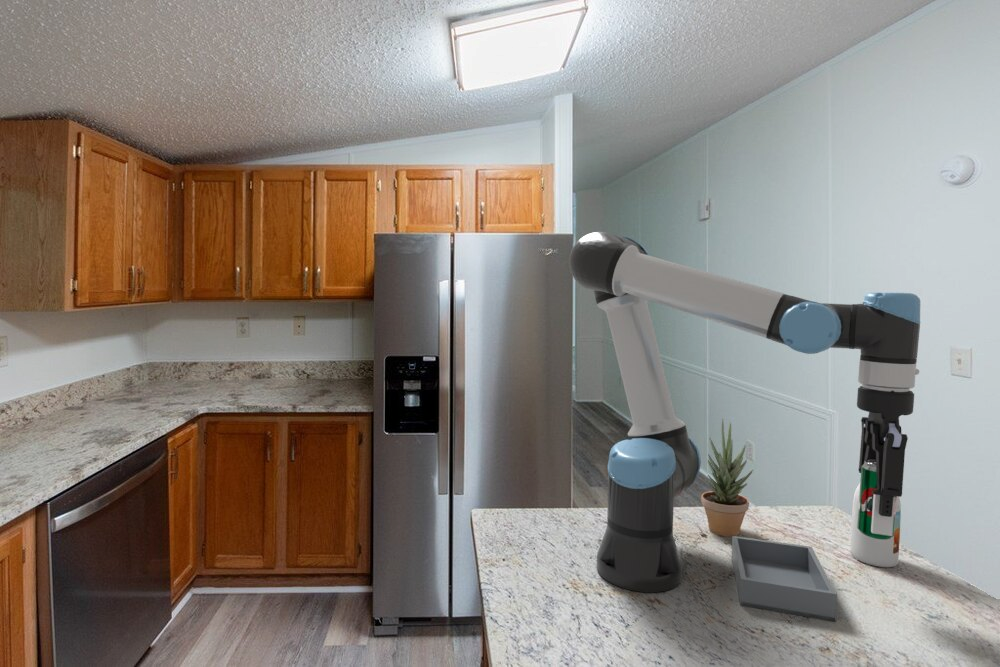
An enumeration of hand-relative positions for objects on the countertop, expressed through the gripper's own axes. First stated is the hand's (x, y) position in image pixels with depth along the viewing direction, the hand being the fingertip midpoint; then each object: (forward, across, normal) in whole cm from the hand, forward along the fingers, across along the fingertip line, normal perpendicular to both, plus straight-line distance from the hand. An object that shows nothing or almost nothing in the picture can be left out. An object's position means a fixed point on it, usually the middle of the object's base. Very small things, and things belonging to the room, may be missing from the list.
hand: (875, 526), depth 90 cm
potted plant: (+13, +22, +21) cm, 33 cm away
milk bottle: (+13, +18, -6) cm, 23 cm away
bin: (+13, 0, +14) cm, 19 cm away
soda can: (+2, 0, 0) cm, 2 cm away
